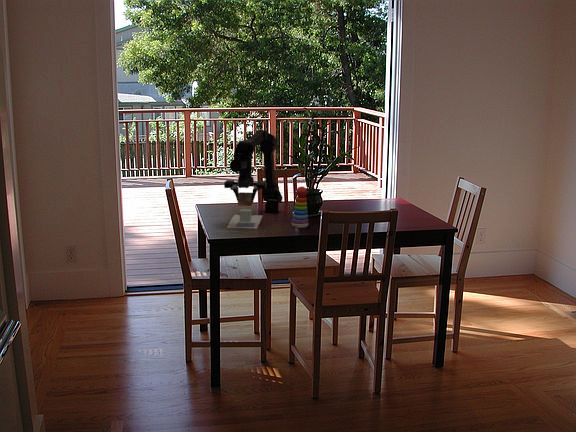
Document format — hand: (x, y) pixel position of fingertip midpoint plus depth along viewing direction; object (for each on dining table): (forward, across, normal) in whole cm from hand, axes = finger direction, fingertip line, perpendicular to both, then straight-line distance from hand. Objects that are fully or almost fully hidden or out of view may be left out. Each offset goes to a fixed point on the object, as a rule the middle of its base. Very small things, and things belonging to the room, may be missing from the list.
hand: (245, 203), depth 315 cm
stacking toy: (+11, +25, +4) cm, 28 cm away
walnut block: (+1, 0, 0) cm, 1 cm away
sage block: (+10, -1, +9) cm, 14 cm away
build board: (+11, -1, +7) cm, 13 cm away
